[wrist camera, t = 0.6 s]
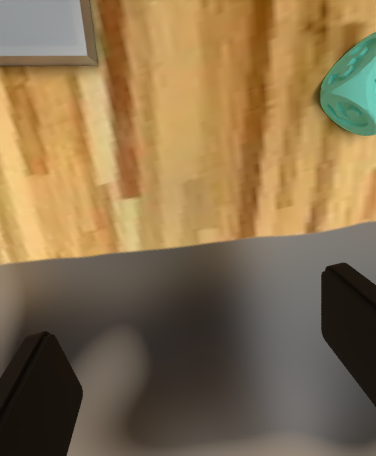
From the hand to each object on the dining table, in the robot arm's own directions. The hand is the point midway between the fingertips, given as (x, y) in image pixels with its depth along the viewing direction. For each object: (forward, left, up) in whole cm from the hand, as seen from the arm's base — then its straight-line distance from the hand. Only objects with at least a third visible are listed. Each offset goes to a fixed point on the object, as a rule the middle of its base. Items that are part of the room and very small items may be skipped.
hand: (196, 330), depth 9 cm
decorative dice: (-10, +24, -30) cm, 40 cm away
